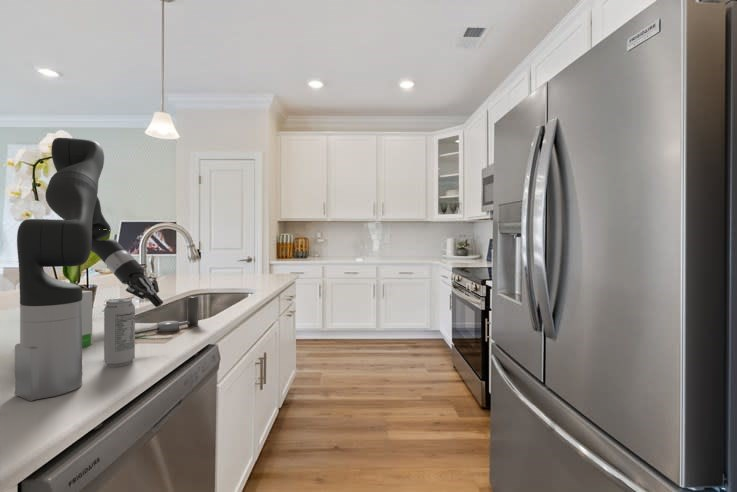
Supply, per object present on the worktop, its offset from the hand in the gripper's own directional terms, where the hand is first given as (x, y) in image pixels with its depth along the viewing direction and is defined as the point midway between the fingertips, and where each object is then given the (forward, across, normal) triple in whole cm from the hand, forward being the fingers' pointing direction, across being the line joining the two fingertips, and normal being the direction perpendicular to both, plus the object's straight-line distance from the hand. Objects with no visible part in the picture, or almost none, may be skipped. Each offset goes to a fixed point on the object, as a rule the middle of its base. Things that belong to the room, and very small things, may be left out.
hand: (160, 304), depth 121 cm
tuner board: (+10, -10, 0) cm, 14 cm away
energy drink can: (+14, -33, -3) cm, 36 cm away
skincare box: (0, -27, +10) cm, 29 cm away
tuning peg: (+10, -8, -1) cm, 13 cm away
